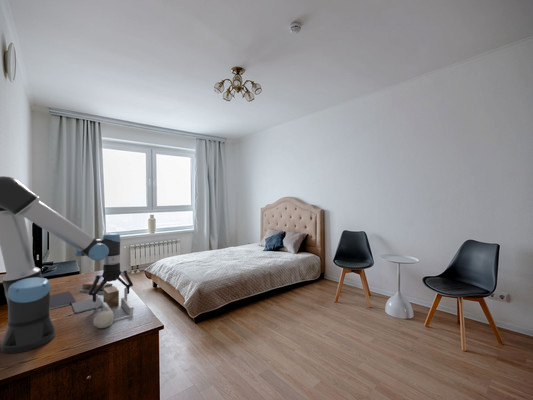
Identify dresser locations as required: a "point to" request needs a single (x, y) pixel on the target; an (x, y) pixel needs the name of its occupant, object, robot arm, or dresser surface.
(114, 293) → the panel
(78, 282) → the dresser surface
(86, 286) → the packaged product
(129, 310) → the rack
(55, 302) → the notebook
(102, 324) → the cream piece
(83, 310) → the felt pad
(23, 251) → the robot arm
